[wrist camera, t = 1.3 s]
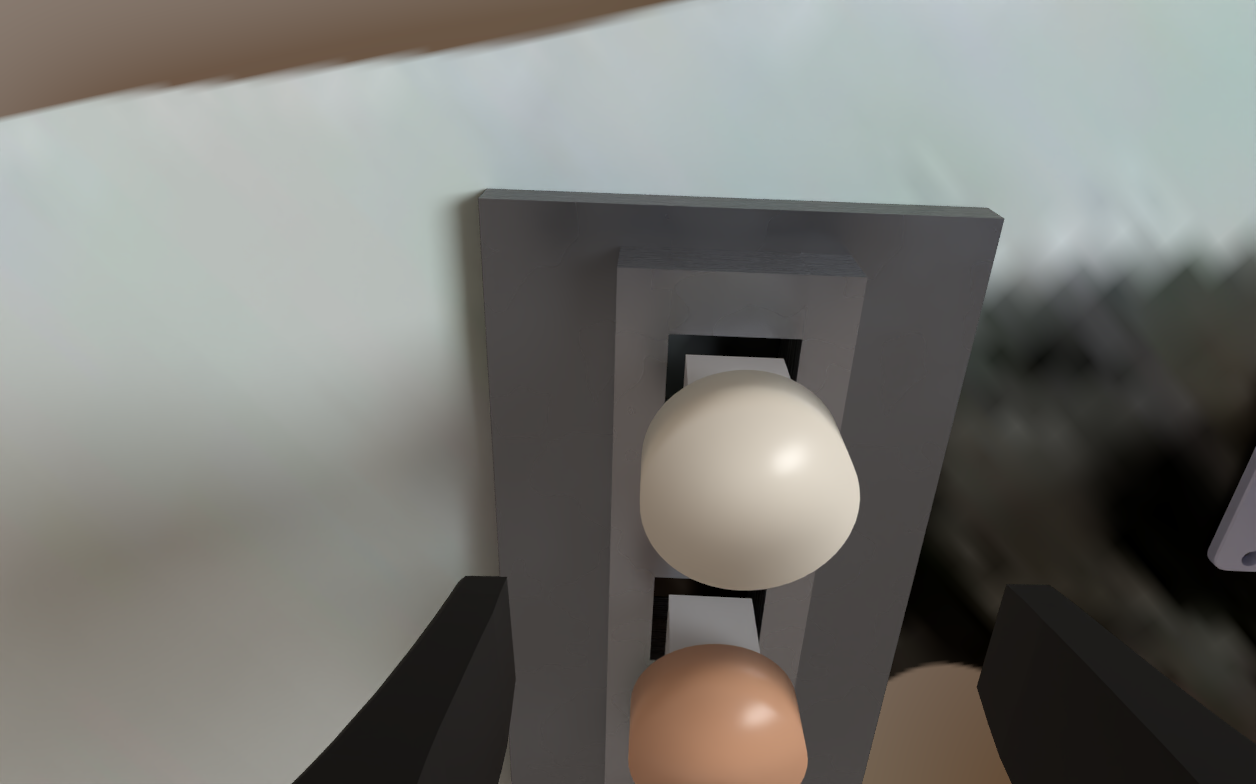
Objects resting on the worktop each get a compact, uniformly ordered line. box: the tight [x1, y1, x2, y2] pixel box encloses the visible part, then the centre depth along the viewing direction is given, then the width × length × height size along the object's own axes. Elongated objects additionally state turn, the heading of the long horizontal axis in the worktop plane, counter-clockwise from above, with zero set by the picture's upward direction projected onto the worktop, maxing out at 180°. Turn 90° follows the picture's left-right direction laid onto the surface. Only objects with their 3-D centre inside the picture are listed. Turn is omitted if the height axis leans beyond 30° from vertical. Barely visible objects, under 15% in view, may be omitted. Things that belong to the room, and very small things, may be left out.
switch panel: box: [478, 189, 1004, 784], centre depth 22 cm, size 12×22×3 cm, turn 178°
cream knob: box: [640, 354, 860, 590], centre depth 16 cm, size 4×4×4 cm
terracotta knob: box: [628, 595, 808, 784], centre depth 19 cm, size 4×4×4 cm
